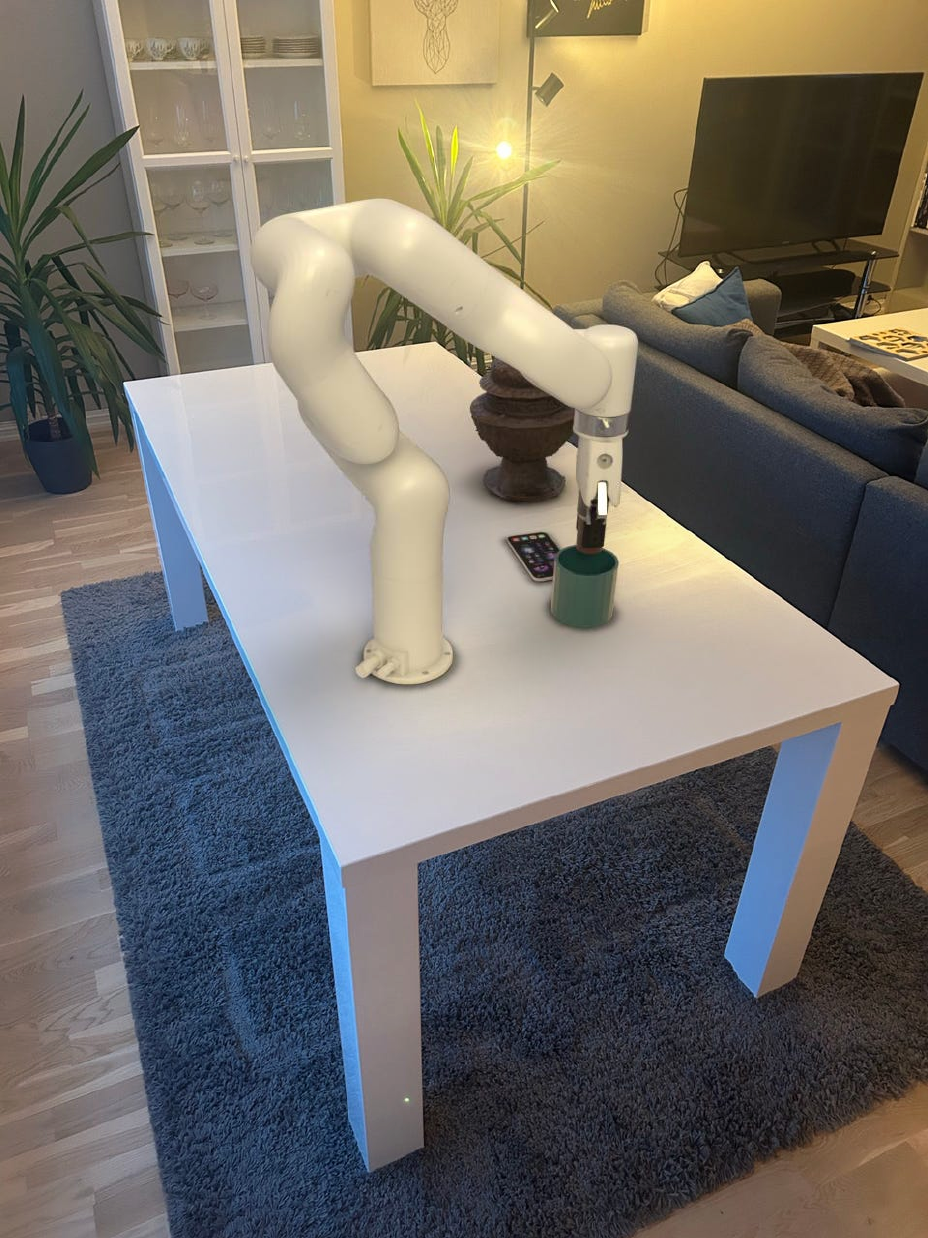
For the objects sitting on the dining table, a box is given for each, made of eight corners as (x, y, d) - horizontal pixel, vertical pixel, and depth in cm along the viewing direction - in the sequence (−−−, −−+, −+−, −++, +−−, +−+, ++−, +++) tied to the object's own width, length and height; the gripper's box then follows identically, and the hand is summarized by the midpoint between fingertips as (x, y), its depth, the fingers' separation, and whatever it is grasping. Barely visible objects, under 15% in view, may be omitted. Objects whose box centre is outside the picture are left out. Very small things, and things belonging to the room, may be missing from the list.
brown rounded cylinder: (596, 558, 138) (603, 486, 131) (568, 550, 140) (574, 479, 133) (608, 546, 141) (616, 475, 135) (581, 538, 143) (588, 468, 136)
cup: (596, 634, 141) (602, 582, 136) (540, 615, 145) (543, 564, 140) (622, 606, 148) (628, 555, 143) (567, 588, 152) (572, 538, 147)
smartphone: (545, 530, 166) (578, 573, 154) (545, 533, 167) (578, 576, 155) (504, 536, 164) (534, 579, 152) (504, 539, 165) (534, 582, 153)
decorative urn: (598, 477, 185) (602, 294, 165) (547, 523, 171) (544, 331, 151) (509, 456, 195) (502, 282, 174) (453, 499, 181) (439, 315, 161)
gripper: (641, 444, 122) (626, 567, 133) (617, 397, 136) (604, 512, 147) (583, 445, 122) (572, 568, 132) (565, 398, 136) (556, 512, 146)
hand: (589, 537), depth 139 cm, fingers closed on brown rounded cylinder, 4 cm apart
